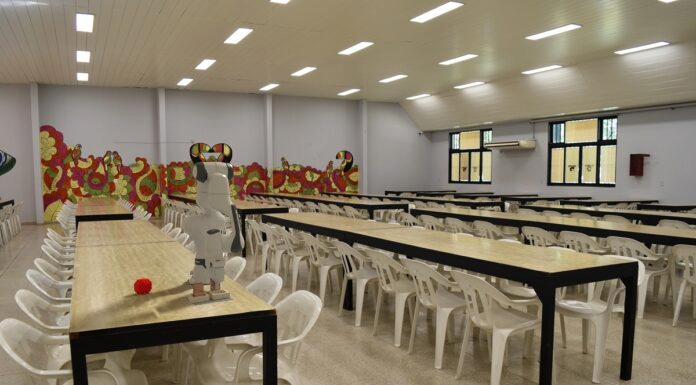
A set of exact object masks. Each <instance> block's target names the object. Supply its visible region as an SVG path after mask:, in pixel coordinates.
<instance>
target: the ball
mask: <svg viewBox="0 0 696 385" xmlns="http://www.w3.org/2000/svg"><path fill="white" fill-rule="evenodd" d="M152 290H153V281H152V280H151V279H150V278H147V277H146V278H145V277H141V278H138V279H136V280H135V282H134V283H133V291H134V292H135V293H136V294H137V295H142V296H143V295H146V294H150V292H151V291H152Z"/></svg>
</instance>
